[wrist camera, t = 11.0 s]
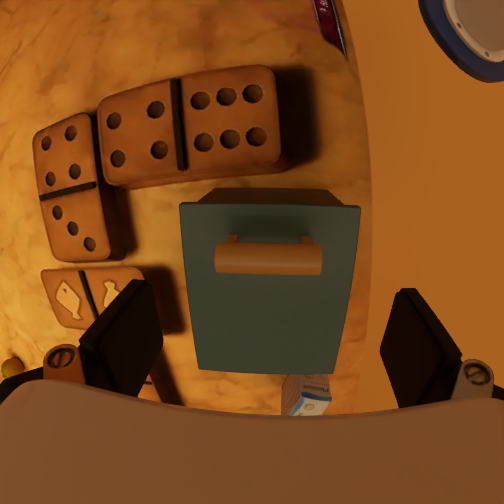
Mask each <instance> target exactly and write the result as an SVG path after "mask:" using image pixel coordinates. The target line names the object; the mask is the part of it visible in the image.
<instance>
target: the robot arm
mask: <svg viewBox="0 0 504 504" xmlns="http://www.w3.org/2000/svg"><path fill="white" fill-rule="evenodd" d="M443 8H444V11H445V14H446V16H447V19H448V21H449V22H450V24H451V26H452V28H453V29H454V31H455V32H456V34H457V35H458V36H459V38H460V39H461V40H462V41H463V43H464V44H465V45H466V46H467V47H468V48H469V49H470V50H471V51H472V52H473V53H475V54H476V55H477V56H479V57H480V58H482V59H484V60H485V61H488V62H493V63H496V62H501V61H503V60H504V0H443ZM79 343H80V346H79V347H78V348H77V347H75V346H74V345H71V344H61V345H58V346H55V347H53V348H52V349H50V350H49V351H48V352H47V353H46V355H45V357H44V360H43V367H40V368H36V369H33V370H30V371H27V372H24V373H21V374H17V375H14V376H11V377H9V378H6V379H4V380H3V381H2V383H1V384H0V504H504V389H503V388H501V387H498V386H496V385H494V374H493V372H492V370H491V368H490V367H489V366H488V365H487V364H485V363H484V362H482V361H480V360H476V359H469V360H465V361H464V362H462V361H461V359H460V358H461V356H462V353H461V352H460V350H459V348H458V347H457V345H456V344H455V342H454V341H453V339H452V338H451V336H450V335H449V333H448V332H447V330H446V329H445V327H444V326H443V325H442V323H441V322H440V320H439V319H438V318H437V316H436V315H435V313H434V312H433V311H432V309H431V308H430V307H429V305H428V304H427V303H426V301H425V300H424V299H423V297H422V296H421V295H420V293H419V292H418V291H417V289H415V288H402V289H401V290H400V291H399V292H397V293H396V294H395V298H394V302H393V305H392V309H391V313H390V317H389V320H388V323H387V327H386V330H385V333H384V336H383V340H382V343H381V346H380V355H381V358H382V361H383V363H384V366H385V369H386V371H387V374H388V377H389V380H390V382H391V386H392V388H393V391H394V394H395V397H396V400H397V403H398V406H399V409H391V410H384V411H375V412H366V413H354V414H339V415H311V416H284V415H258V414H243V413H231V412H221V411H212V410H204V409H197V408H190V407H183V406H177V405H171V404H166V403H161V402H156V401H151V400H146V399H141V398H137V396H138V394H139V392H140V390H141V388H142V386H143V384H144V382H145V380H146V378H147V376H148V374H149V372H150V370H151V368H152V366H153V364H154V362H155V360H156V358H157V356H158V354H159V352H160V350H161V348H162V346H163V335H162V331H161V326H160V322H159V317H158V312H157V308H156V303H155V297H154V292H153V287H152V285H151V284H149V283H148V281H147V280H138V279H133V280H131V281H130V282H129V283H128V285H127V286H126V287H125V288H124V289H123V290H122V291H121V292H120V293H119V294H118V295H117V297H116V298H115V299H114V300H113V301H112V302H111V303H110V304H109V305H108V307H107V308H106V309H105V310H104V311H103V312H102V313H101V314H100V316H99V317H98V318H97V319H96V320H95V321H94V322H93V324H92V325H91V326H90V327H89V328H88V329H87V331H86V332H85V333H84V334H83V335H82V337H81V338H80V339H79Z"/></svg>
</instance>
